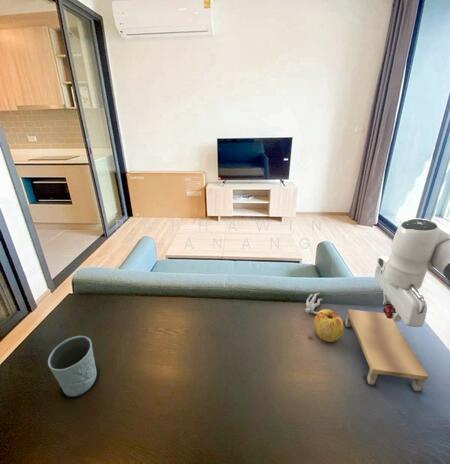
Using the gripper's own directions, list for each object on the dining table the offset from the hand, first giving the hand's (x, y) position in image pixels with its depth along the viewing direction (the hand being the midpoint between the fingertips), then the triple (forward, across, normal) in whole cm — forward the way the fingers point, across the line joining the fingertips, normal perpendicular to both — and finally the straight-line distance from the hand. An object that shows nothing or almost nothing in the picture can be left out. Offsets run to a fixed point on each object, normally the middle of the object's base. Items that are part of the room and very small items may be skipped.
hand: (390, 312), depth 73 cm
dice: (+2, 0, 0) cm, 2 cm away
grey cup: (+17, -22, +89) cm, 93 cm away
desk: (+17, 0, 0) cm, 17 cm away
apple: (+17, +4, +15) cm, 23 cm away
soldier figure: (+17, +17, +17) cm, 30 cm away
